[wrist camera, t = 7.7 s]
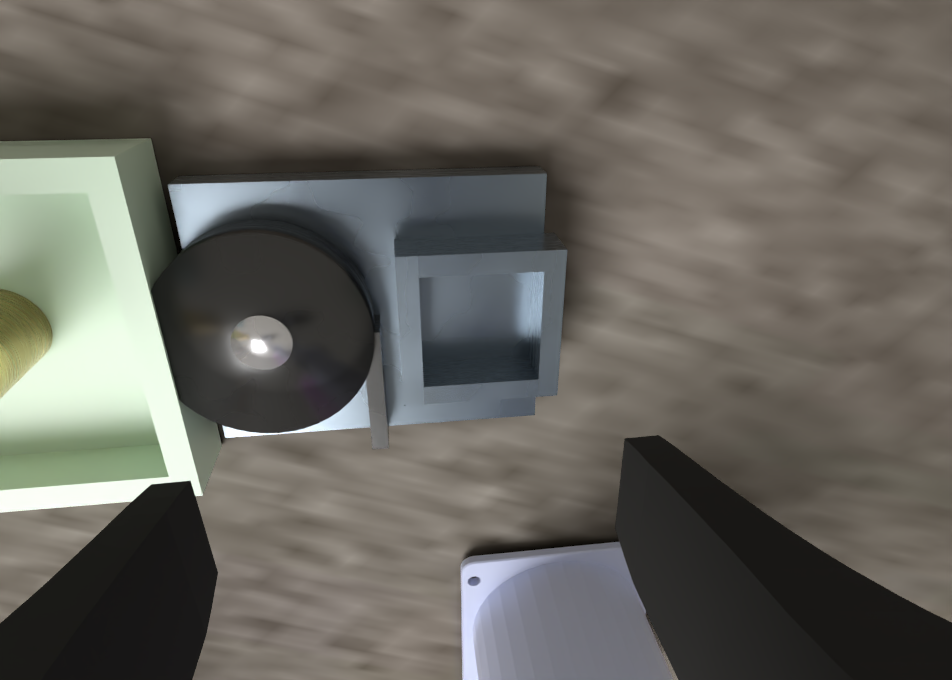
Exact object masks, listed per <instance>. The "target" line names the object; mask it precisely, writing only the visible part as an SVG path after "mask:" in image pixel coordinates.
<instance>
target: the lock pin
mask: <svg viewBox="0 0 952 680" xmlns="http://www.w3.org/2000/svg"><path fill="white" fill-rule="evenodd" d="M52 338H53V335H52V329H51V325H50V323H49V321H48V319H47V317H46V316H45V314H44V313H43V312H42V310H41V309H40V308H39V307H38V306H37V305H35V304H34V303H33V302H32V301H30V300H29V299H27V298H25V297H23V296H22V295H19V294H17V293H15V292H12V291H8V290H4V289H0V399H1V398H2V397H3V396H4V395H5V394H6V393H7V392H8V391H9V390H10V389H11V388H12V387H13V386H14V385H15V384H16V383H17V382H18V381H19V380H20V379H21V378H22V377H23V376H24V375H25V374H26V373H27V372H28V371H29V370H30V369H31V368H32V367H33V366H34V365H35V364H36V363H37V362H38V361H39V360H40V359H41V358H42V357H43V356H44V355H45V354H46V353H47V352H48V350H49V349H50V347H51V344H52Z"/></svg>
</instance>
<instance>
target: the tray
mask: <svg viewBox="0 0 952 680" xmlns="http://www.w3.org/2000/svg"><path fill="white" fill-rule="evenodd" d="M177 255H178V253H177V249H176V245H175V241H174V236H173V232H172V228H171V223H170V219H169V215H168V210H167V206H166V202H165V197H164V193H163V189H162V184H161V180H160V176H159V171H158V167H157V163H156V158H155V154H154V150H153V145H152V141H151V138H139V139H91V140H43V141H0V289H4V290H8V291H12V292H15V293H17V294H19V295H22V296H23V297H25V298H27V299H29V300H30V301H32V302H33V303H34V304H35V305H37V306H38V307H39V308H40V309H41V310H42V312H43V313H44V314H45V316H46V317H47V319H48V321H49V323H50V325H51V329H52V335H53V338H52V344H51V347H50V349H49V350H48V352H47V353H46V354H45V355H44V356H43V357H42V358H41V359H40V360H39V361H38V362H37V363H36V364H35V365H34V366H33V367H32V368H31V369H30V370H29V371H28V372H27V373H26V374H25V375H24V376H23V377H22V378H21V379H20V380H19V381H18V382H17V383H16V384H15V385H14V386H13V387H12V388H11V389H10V390H9V391H8V392H7V393H6V394H5V395H4V396H3V397H2V398H1V399H0V512H11V511H23V510H35V509H47V508H59V507H71V506H83V505H95V504H107V503H119V502H131V501H133V500H134V499H135V498H137V497H138V496H139V495H140V494H141V493H142V492H143V491H144V490H145V489H147V488H148V487H149V486H150V485H151V484H161V483H171V482H181V481H191V484H192V487H193V490H194V494H195V496H203V493H204V491H205V488H206V486H207V483H208V480H209V478H210V475H211V473H212V470H213V467H214V465H215V462H216V460H217V457H218V455H219V452H220V449H221V447H222V444H221V439H220V435H219V431H218V426H217V423H215V422H213V421H211V420H209V419H207V418H205V417H203V416H201V415H199V414H197V413H196V412H194V411H193V410H191V409H190V408H189V407H187V406H186V405H184V404H183V403H182V402H181V401H180V400H179V397H178V393H177V389H176V385H175V382H174V378H173V374H172V370H171V366H170V362H169V358H168V355H167V351H166V347H165V343H164V339H163V335H162V332H161V328H160V324H159V320H158V316H157V312H156V308H155V305H154V301H153V297H152V293H151V290H152V287H153V285H154V284H155V282H156V281H157V279H158V278H159V276H160V275H161V274H162V272H163V271H164V270H165V269H166V268H167V267H168V265H169V264H170V263H171V262H172V261H173V260H174V259H175V258H176V256H177Z"/></svg>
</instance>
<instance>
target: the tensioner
mask: <svg viewBox="0 0 952 680" xmlns="http://www.w3.org/2000/svg"><path fill="white" fill-rule="evenodd" d="M546 182H547V173H546V172H545V171H544V170H543V169H542V168H541V167H539V166H525V167H489V168H452V169H416V170H379V171H343V172H306V173H270V174H233V175H197V176H178V177H177V178H176V179H174V180H173V181H172V182H170V183H169V184H168V189H169V193H170V198H171V202H172V206H173V211H174V215H175V220H176V224H177V228H178V233H179V237H180V242H181V246H182V251H181V252H180V253H179V254H178V255H177V256H176V258H175V259H174V260H173V261H172V262H171V263H170V264H169V265H168V267H167V268H166V269H165V270H164V271H163V272H162V274H161V275H160V276H159V278H158V279H157V281H156V282H155V284H154V285H153V287H152V290H151V293H152V297H153V301H154V305H155V308H156V312H157V316H158V320H159V324H160V328H161V332H162V335H163V339H164V343H165V347H166V351H167V355H168V358H169V362H170V366H171V370H172V374H173V378H174V382H175V385H176V389H177V393H178V397H179V400H180V401H181V402H182V403H183V404H184V405H186V406H187V407H189V408H190V409H191V410H193V411H194V412H196V413H197V414H199V415H201V416H203V417H205V418H207V419H209V420H211V421H213V422H215V423H218V424H220V425H222V427H223V431H224V435H225V438H229V437H243V436H256V435H270V434H283V433H297V432H311V431H324V430H338V429H351V428H365V427H370V428H371V438H372V449H384V448H389V426H392V425H406V424H419V423H433V422H446V421H460V420H474V419H487V418H501V417H514V416H528V415H535V397H539V396H553V395H557V390H558V376H559V361H560V347H561V333H562V319H563V305H564V290H565V276H566V262H567V249H566V247H565V246H564V245H563V244H562V242H561V241H560V240H559V238H558V237H557V236H556V235H555V233H544V221H545V202H546Z"/></svg>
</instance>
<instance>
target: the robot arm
mask: <svg viewBox="0 0 952 680" xmlns="http://www.w3.org/2000/svg"><path fill="white" fill-rule="evenodd" d="M615 529H616V532H617V536H618V539H619V542H610V543H600V544H590V545H580V546H570V547H560V548H550V549H539V550H529V551H519V552H509V553H499V554H489V555H479V556H471V557H468V558H466V559H464V561H463V562H462V563H461V623H462V680H673V678H672V675H671V673H670V671H669V669H668V666H667V664H666V662H665V659H664V657H663V655H662V652H661V650H660V648H659V646H658V643H657V641H656V639H655V636H654V634H653V632H652V629H651V627H650V625H649V623H648V620H647V618H646V616H645V615H646V612H647V614H648V616H649V618H650V621H651V623H652V625H653V627H654V629H655V631H656V633H657V635H658V638H659V640H660V642H661V644H662V646H663V648H664V650H665V652H666V654H667V656H668V659H669V661H670V663H671V665H672V667H673V669H674V671H675V673H676V675H677V678H678V680H952V623H951V622H949V621H947V620H945V619H943V618H941V617H939V616H937V615H935V614H933V613H931V612H929V611H927V610H925V609H923V608H921V607H919V606H918V605H916V604H914V603H912V602H910V601H908V600H906V599H904V598H902V597H900V596H899V595H897V594H895V593H893V592H891V591H890V590H888V589H886V588H884V587H883V586H881V585H879V584H877V583H875V582H874V581H872V580H870V579H868V578H867V577H865V576H863V575H861V574H860V573H858V572H856V571H854V570H852V569H851V568H849V567H847V566H846V565H844V564H842V563H841V562H839V561H837V560H836V559H834V558H832V557H831V556H829V555H828V554H826V553H824V552H823V551H821V550H820V549H818V548H817V547H815V546H813V545H812V544H810V543H809V542H807V541H806V540H804V539H803V538H801V537H800V536H798V535H797V534H795V533H793V532H792V531H790V530H789V529H787V528H786V527H784V526H783V525H781V524H780V523H778V522H777V521H776V520H774V519H773V518H771V517H770V516H768V515H767V514H765V513H764V512H763V511H761V510H760V509H758V508H757V507H755V506H754V505H753V504H751V503H750V502H748V501H747V500H746V499H744V498H743V497H742V496H740V495H739V494H737V493H736V492H735V491H733V490H732V489H731V488H729V487H728V486H727V485H725V484H724V483H722V482H721V481H720V480H718V479H717V478H716V477H714V476H713V475H712V474H710V473H709V472H708V471H706V470H705V469H704V468H702V467H701V466H700V465H699V464H697V463H696V462H695V461H693V460H692V459H691V458H689V457H688V456H687V455H685V454H684V453H683V452H681V451H680V450H679V449H677V448H676V447H675V446H673V445H672V444H670V443H669V442H668V441H666V440H665V439H663V438H662V437H661V436H659V435H657V436H647V437H637V438H626V439H625V441H624V451H623V460H622V469H621V479H620V488H619V497H618V507H617V516H616V526H615ZM217 575H218V572H217V568H216V565H215V561H214V558H213V555H212V551H211V548H210V545H209V541H208V538H207V534H206V531H205V528H204V524H203V521H202V517H201V514H200V511H199V507H198V504H197V501H196V497H195V494H194V490H193V487H192V484H191V481H181V482H171V483H161V484H151V485H150V486H149V487H148V488H147V489H145V490H144V491H143V492H142V493H141V494H140V495H139V496H138V497H137V498H135V499H134V500H133V501H132V502H131V503H130V504H129V505H128V506H127V507H126V508H125V509H124V510H123V511H122V512H121V513H120V514H119V515H118V516H117V517H116V518H115V519H113V520H112V521H111V522H110V523H109V524H108V525H107V526H106V527H105V528H104V529H103V530H102V531H101V532H100V533H99V534H98V535H97V536H96V537H95V538H94V539H93V540H92V541H91V542H90V543H89V544H87V545H86V546H85V547H84V548H83V549H82V550H81V551H80V552H79V553H78V554H77V555H76V556H75V557H74V558H73V559H71V560H70V561H69V562H68V563H67V564H66V565H65V566H64V567H63V568H62V569H61V570H60V571H59V572H58V573H57V574H55V575H54V576H53V577H52V578H51V579H50V580H49V581H48V582H47V583H46V584H45V585H44V586H43V587H42V588H40V589H39V590H38V591H37V592H36V593H35V594H34V595H32V596H31V597H30V598H29V599H28V600H27V601H26V602H24V603H23V604H22V605H21V606H20V607H19V608H18V609H16V610H15V611H14V612H13V613H12V614H11V615H9V616H8V617H7V618H6V619H5V620H4V621H3V622H1V623H0V680H192V678H193V675H194V672H195V669H196V666H197V662H198V659H199V656H200V653H201V650H202V647H203V643H204V640H205V637H206V633H207V628H208V623H209V618H210V613H211V608H212V603H213V597H214V592H215V586H216V580H217ZM474 576H476V577H475V578H471V577H474Z"/></svg>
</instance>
